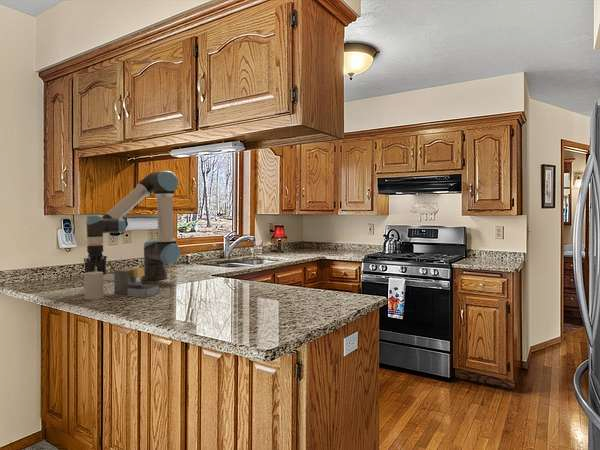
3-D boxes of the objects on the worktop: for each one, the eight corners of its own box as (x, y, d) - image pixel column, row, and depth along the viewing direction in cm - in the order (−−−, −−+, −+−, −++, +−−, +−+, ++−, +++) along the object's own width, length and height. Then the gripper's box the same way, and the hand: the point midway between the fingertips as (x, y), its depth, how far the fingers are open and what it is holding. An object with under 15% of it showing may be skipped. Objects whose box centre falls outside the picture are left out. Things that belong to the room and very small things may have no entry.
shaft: (95, 288, 223) (95, 270, 223) (141, 291, 214) (140, 273, 214) (89, 289, 219) (89, 272, 219) (135, 292, 210) (135, 274, 210)
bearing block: (128, 290, 220) (128, 267, 220) (141, 291, 218) (141, 268, 217) (114, 294, 211) (114, 270, 210) (127, 295, 208) (127, 271, 208)
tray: (141, 291, 218) (141, 285, 218) (159, 293, 214) (159, 286, 214) (127, 295, 208) (127, 288, 208) (146, 297, 205) (146, 289, 205)
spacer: (137, 275, 215) (137, 267, 215) (144, 275, 214) (144, 268, 214) (131, 277, 210) (130, 269, 210) (137, 277, 209) (137, 269, 209)
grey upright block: (102, 298, 201) (102, 273, 201) (83, 300, 198) (83, 274, 198) (103, 295, 209) (103, 271, 208) (85, 296, 206) (85, 272, 205)
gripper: (101, 243, 229) (102, 286, 230) (76, 246, 213) (77, 292, 214) (113, 243, 227) (113, 287, 228) (88, 246, 211) (89, 293, 211)
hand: (96, 289), depth 221 cm, fingers closed on shaft, 4 cm apart
